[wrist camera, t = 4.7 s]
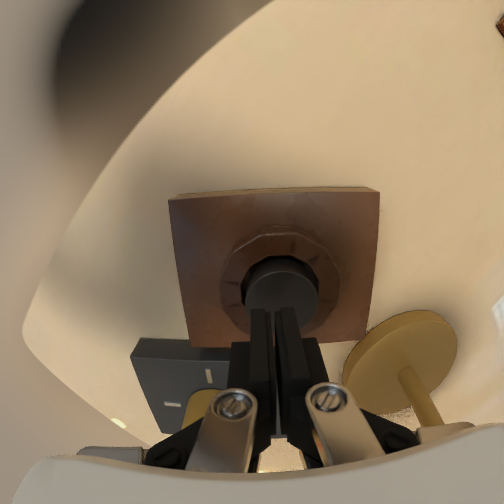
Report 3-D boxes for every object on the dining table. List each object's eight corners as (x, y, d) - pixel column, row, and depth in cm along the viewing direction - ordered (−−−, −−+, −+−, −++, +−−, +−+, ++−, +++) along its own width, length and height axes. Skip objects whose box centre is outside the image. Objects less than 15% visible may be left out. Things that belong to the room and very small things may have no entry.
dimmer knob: (194, 420, 21) (183, 470, 16) (183, 387, 20) (168, 441, 15) (245, 422, 21) (242, 474, 16) (241, 389, 20) (236, 446, 15)
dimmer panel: (167, 414, 25) (161, 434, 22) (140, 337, 21) (128, 357, 19) (288, 418, 24) (289, 439, 22) (291, 338, 21) (294, 360, 18)
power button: (248, 318, 16) (247, 335, 15) (244, 259, 15) (242, 272, 13) (311, 315, 16) (316, 332, 14) (313, 256, 15) (319, 269, 13)
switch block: (197, 329, 21) (185, 363, 17) (178, 194, 18) (156, 205, 14) (356, 322, 20) (372, 354, 17) (366, 187, 17) (393, 197, 13)
